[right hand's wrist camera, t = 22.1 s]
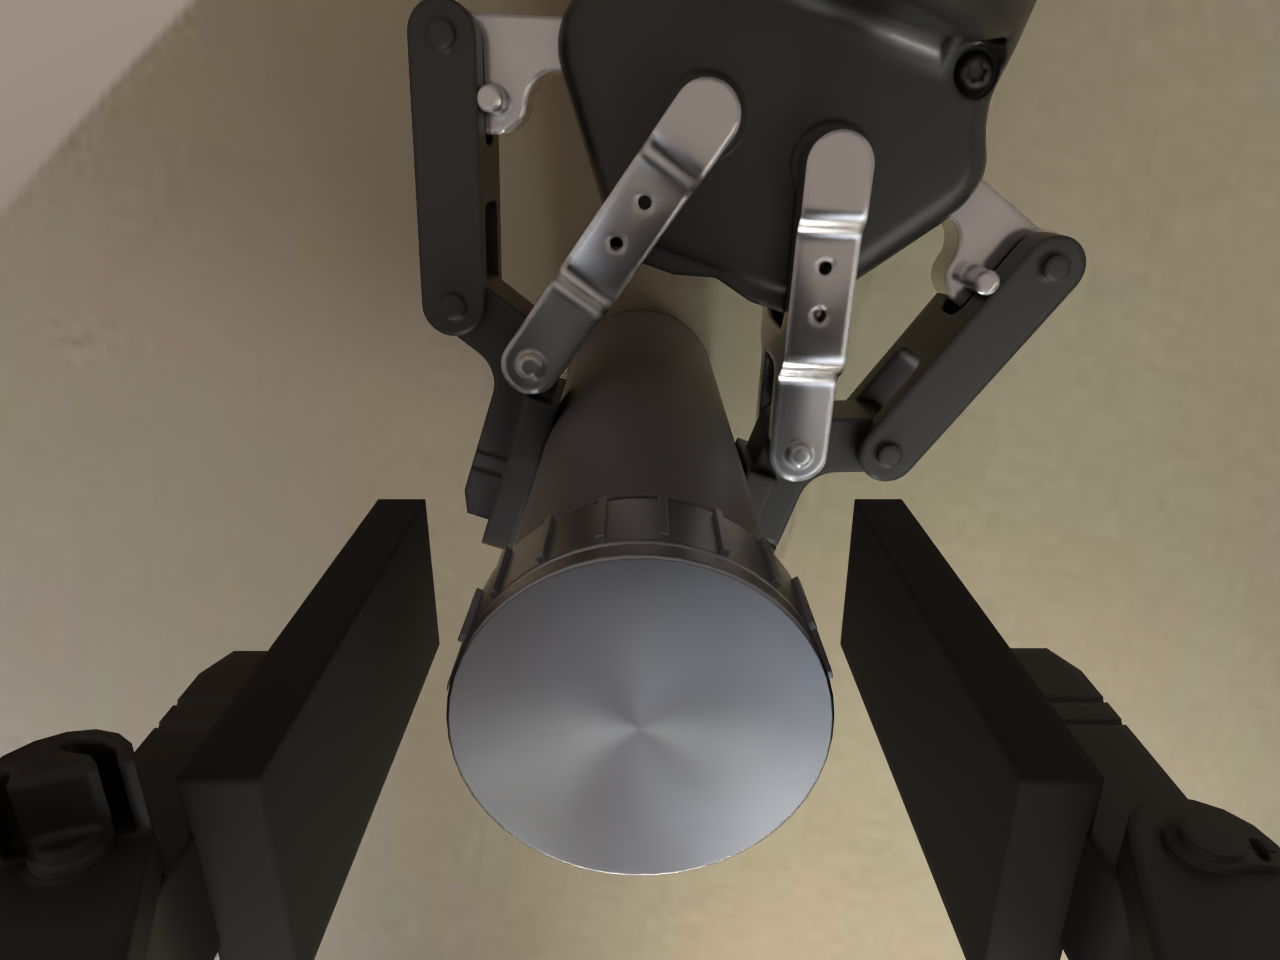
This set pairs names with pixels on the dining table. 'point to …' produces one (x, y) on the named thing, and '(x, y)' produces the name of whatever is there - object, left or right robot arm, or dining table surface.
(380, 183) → the dining table surface
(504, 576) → the lid
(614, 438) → the jar
